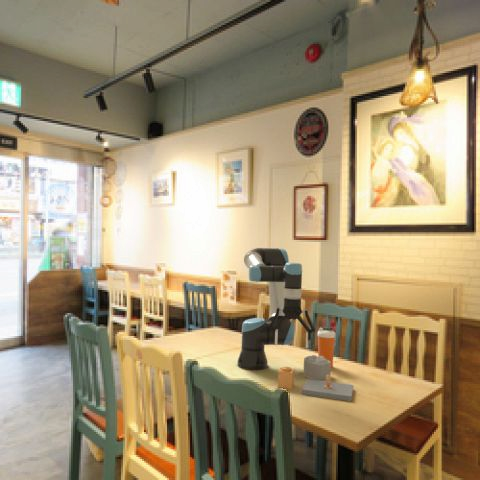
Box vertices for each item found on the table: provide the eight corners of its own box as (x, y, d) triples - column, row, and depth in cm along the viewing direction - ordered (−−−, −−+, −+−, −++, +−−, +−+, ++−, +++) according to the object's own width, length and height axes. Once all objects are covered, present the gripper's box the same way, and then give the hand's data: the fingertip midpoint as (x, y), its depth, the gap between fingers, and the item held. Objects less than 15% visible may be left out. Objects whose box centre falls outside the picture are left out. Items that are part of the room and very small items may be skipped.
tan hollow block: (277, 387, 176) (278, 369, 176) (281, 382, 181) (281, 365, 181) (291, 389, 174) (292, 371, 174) (294, 384, 180) (294, 367, 180)
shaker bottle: (334, 370, 202) (335, 329, 202) (316, 368, 203) (317, 328, 203) (334, 364, 210) (335, 326, 210) (316, 363, 212) (317, 325, 212)
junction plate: (301, 394, 168) (302, 377, 168) (307, 383, 182) (307, 367, 182) (351, 401, 162) (351, 383, 162) (353, 389, 175) (353, 373, 175)
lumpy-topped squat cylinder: (317, 381, 185) (317, 362, 185) (298, 372, 196) (298, 354, 196) (333, 377, 191) (333, 358, 191) (314, 369, 202) (314, 352, 202)
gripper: (263, 297, 178) (262, 345, 178) (320, 300, 172) (319, 350, 172) (266, 295, 186) (265, 341, 186) (321, 298, 179) (320, 346, 179)
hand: (291, 346), depth 179 cm, fingers open, 13 cm apart
